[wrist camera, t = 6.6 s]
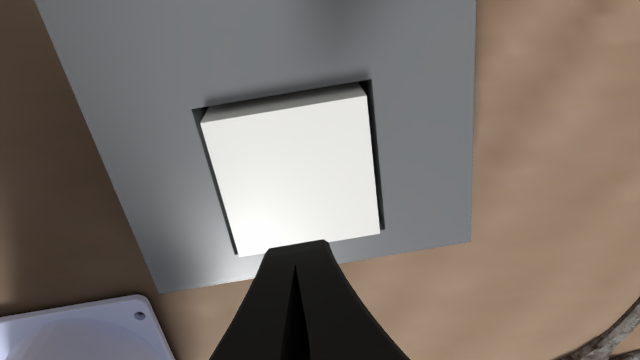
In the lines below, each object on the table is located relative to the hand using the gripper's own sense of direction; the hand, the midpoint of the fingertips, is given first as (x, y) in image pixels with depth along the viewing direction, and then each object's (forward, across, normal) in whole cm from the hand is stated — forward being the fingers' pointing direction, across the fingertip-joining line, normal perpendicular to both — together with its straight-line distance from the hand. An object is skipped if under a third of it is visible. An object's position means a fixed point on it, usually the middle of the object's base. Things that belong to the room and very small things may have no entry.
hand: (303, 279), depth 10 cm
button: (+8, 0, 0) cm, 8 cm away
